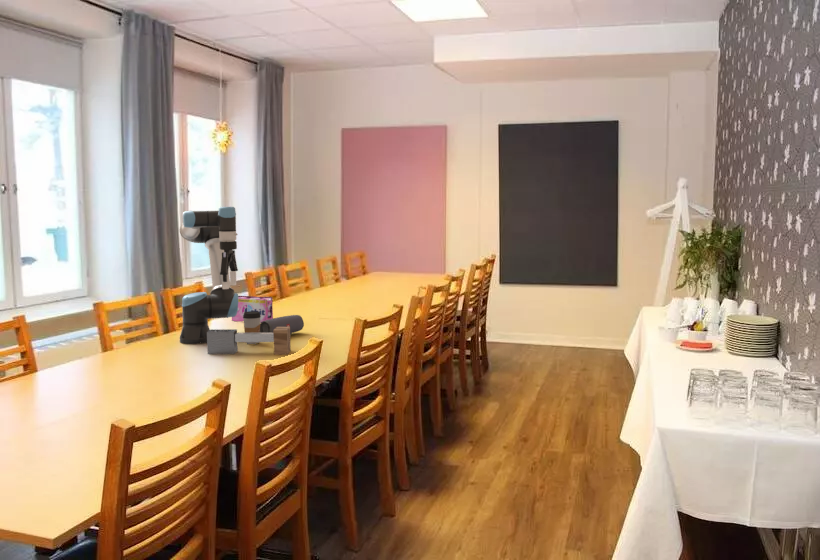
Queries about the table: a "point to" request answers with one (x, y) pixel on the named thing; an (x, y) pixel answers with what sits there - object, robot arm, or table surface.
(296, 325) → the bluetooth speaker
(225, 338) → the grey rectangular block
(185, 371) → the table surface
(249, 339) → the orange-tipped grey stick
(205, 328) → the robot arm
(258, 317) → the coffee cup
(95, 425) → the table surface
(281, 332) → the socket
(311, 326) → the table surface
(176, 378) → the table surface
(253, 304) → the gum box
